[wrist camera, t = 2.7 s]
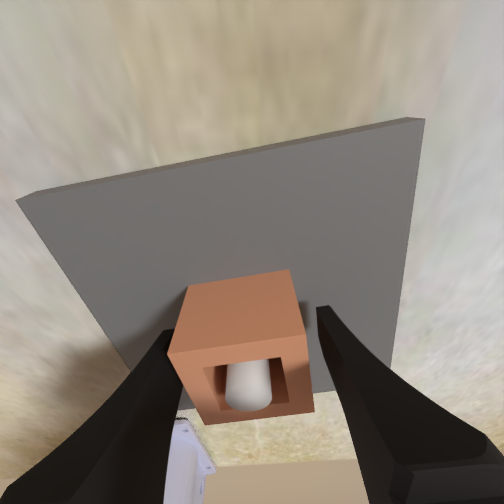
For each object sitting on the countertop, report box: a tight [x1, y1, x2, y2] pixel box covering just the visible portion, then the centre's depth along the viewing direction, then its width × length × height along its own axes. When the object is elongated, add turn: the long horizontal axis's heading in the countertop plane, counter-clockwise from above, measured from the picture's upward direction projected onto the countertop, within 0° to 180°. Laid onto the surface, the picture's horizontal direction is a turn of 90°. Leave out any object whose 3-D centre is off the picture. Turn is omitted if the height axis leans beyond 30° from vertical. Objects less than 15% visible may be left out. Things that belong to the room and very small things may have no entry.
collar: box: [167, 269, 315, 425], centre depth 12 cm, size 5×5×4 cm
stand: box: [15, 117, 425, 411], centre depth 12 cm, size 16×16×6 cm
